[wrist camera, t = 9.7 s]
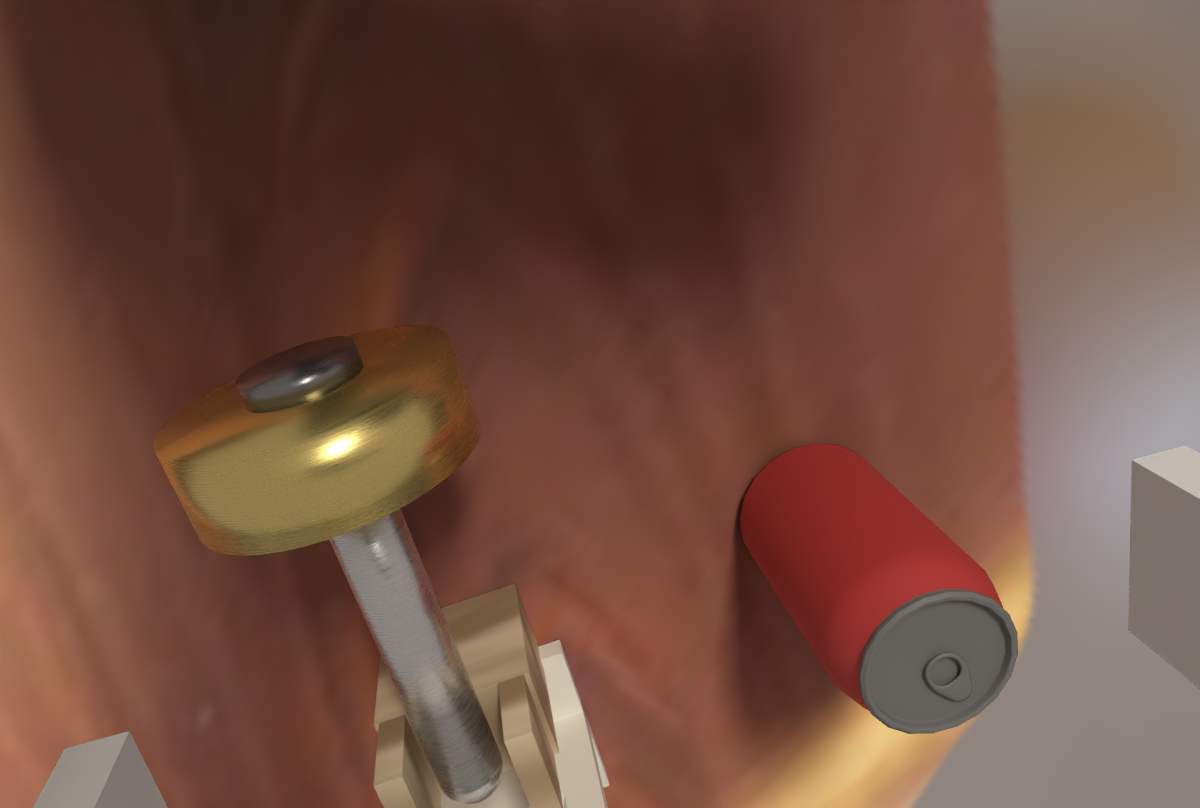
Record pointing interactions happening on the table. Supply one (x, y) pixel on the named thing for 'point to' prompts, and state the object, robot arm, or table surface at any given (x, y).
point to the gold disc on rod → (349, 502)
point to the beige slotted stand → (576, 747)
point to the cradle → (507, 696)
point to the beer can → (878, 590)
